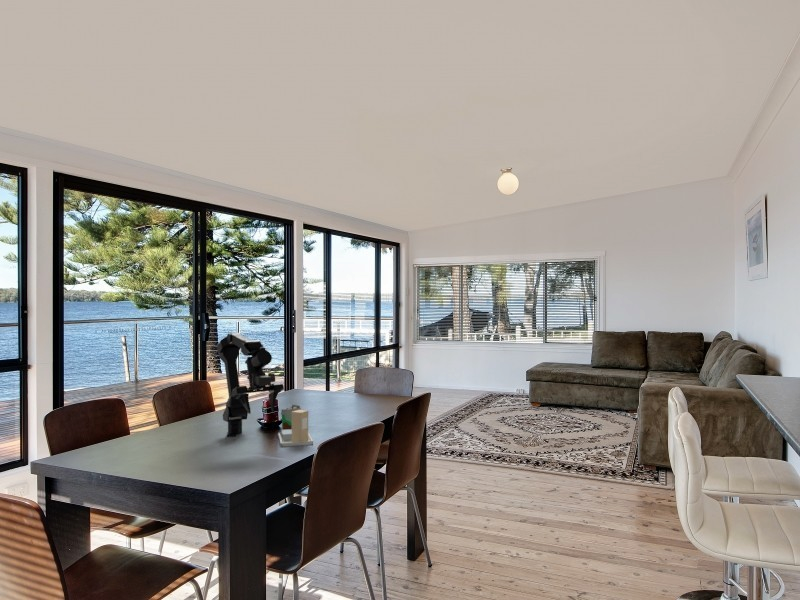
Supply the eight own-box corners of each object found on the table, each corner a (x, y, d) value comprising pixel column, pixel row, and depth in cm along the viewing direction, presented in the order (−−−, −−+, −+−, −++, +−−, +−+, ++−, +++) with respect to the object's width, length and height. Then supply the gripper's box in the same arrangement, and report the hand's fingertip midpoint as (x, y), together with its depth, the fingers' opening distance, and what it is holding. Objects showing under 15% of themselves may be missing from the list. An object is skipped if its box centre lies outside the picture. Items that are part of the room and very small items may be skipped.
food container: (295, 434, 236) (294, 410, 237) (281, 433, 238) (281, 409, 238) (305, 427, 249) (305, 404, 249) (292, 427, 250) (292, 404, 250)
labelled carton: (291, 442, 219) (291, 411, 219) (299, 440, 223) (299, 409, 223) (301, 444, 216) (301, 412, 217) (308, 441, 220) (308, 410, 220)
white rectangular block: (281, 436, 230) (281, 430, 230) (292, 435, 231) (292, 429, 231) (282, 440, 222) (282, 434, 222) (294, 440, 223) (294, 433, 223)
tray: (278, 437, 231) (278, 432, 231) (308, 435, 234) (308, 430, 234) (280, 448, 213) (280, 443, 213) (313, 446, 216) (313, 441, 216)
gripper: (239, 367, 207) (245, 410, 203) (286, 364, 219) (293, 404, 214) (229, 375, 216) (234, 416, 211) (274, 372, 227) (281, 411, 222)
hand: (261, 412), depth 215 cm, fingers open, 9 cm apart
